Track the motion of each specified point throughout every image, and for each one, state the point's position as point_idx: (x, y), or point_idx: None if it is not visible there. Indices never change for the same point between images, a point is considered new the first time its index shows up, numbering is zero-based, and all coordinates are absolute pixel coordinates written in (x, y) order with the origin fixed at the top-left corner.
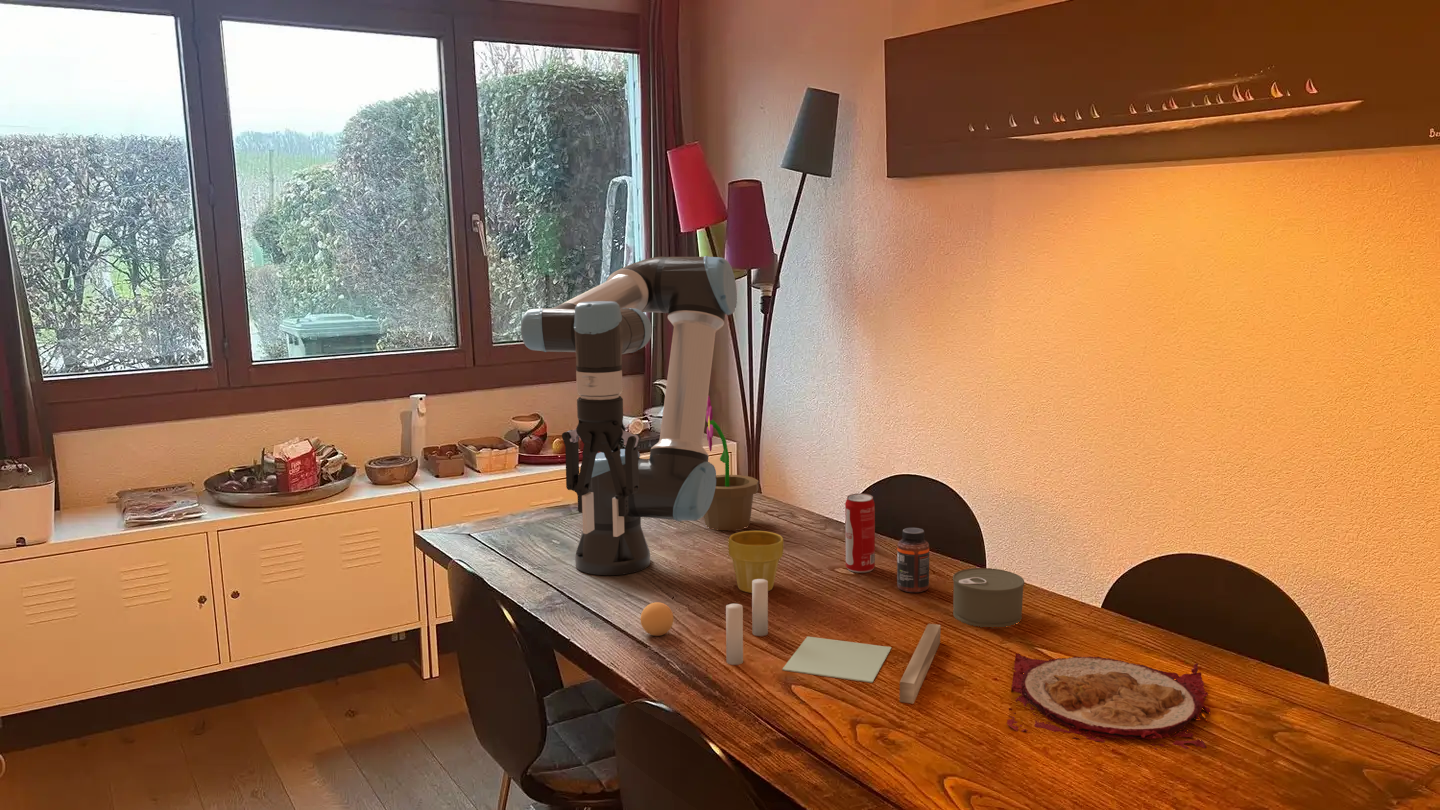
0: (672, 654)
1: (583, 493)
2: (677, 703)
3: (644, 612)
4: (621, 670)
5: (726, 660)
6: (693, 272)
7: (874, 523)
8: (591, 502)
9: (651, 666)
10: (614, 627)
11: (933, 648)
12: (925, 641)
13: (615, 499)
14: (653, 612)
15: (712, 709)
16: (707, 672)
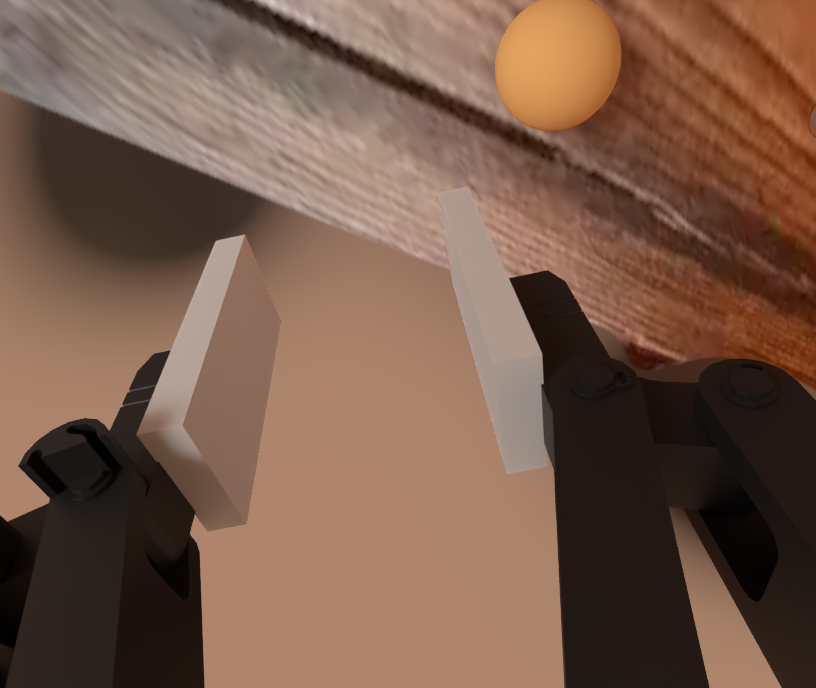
0: (643, 162)
1: (190, 523)
2: (730, 352)
3: (534, 120)
4: None
5: (812, 131)
6: None
7: None
8: (222, 393)
9: (617, 251)
10: (371, 76)
11: None
12: None
13: (537, 463)
14: (575, 120)
15: (804, 339)
16: (765, 209)
